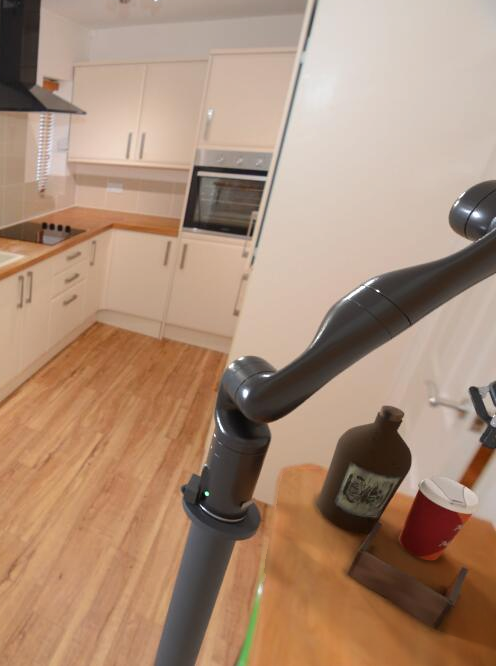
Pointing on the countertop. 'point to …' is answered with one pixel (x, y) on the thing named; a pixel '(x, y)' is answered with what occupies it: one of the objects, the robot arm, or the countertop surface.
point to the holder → (404, 585)
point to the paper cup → (436, 516)
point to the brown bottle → (365, 472)
